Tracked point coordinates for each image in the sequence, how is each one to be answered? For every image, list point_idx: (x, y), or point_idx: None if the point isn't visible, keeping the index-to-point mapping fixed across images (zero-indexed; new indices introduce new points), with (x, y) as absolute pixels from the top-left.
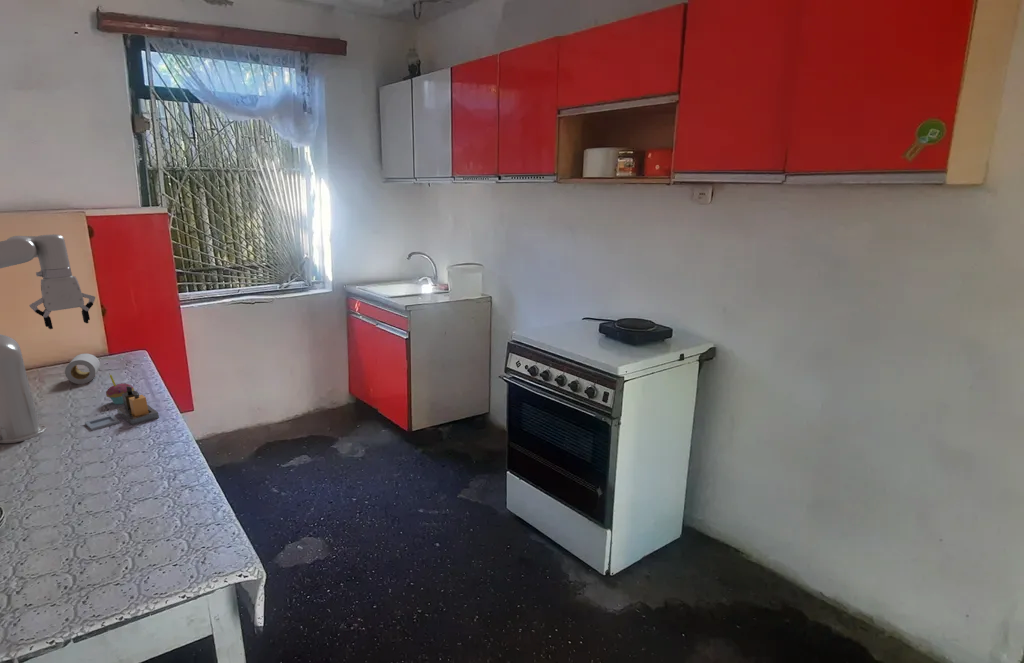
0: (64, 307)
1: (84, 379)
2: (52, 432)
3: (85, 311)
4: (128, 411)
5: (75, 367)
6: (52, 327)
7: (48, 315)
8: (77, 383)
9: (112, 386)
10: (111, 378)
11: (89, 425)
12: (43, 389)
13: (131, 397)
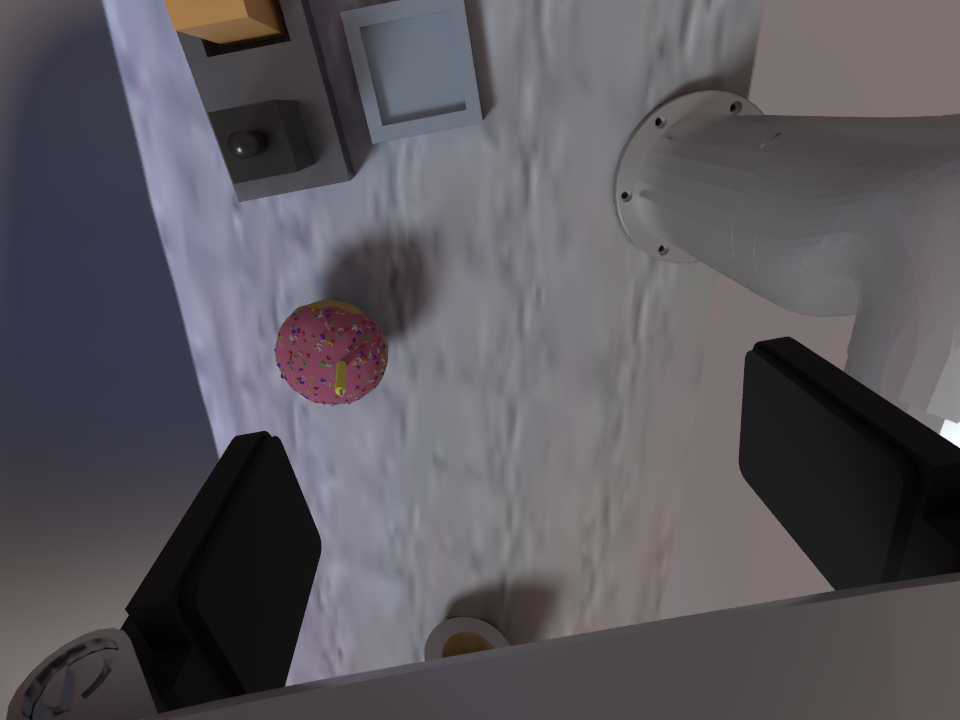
0: (672, 673)
1: (461, 629)
2: (599, 130)
3: (145, 620)
4: (294, 73)
5: None
6: (760, 354)
7: (954, 542)
8: (482, 621)
9: (353, 371)
10: (341, 379)
11: (467, 48)
12: (573, 625)
13: (231, 12)
